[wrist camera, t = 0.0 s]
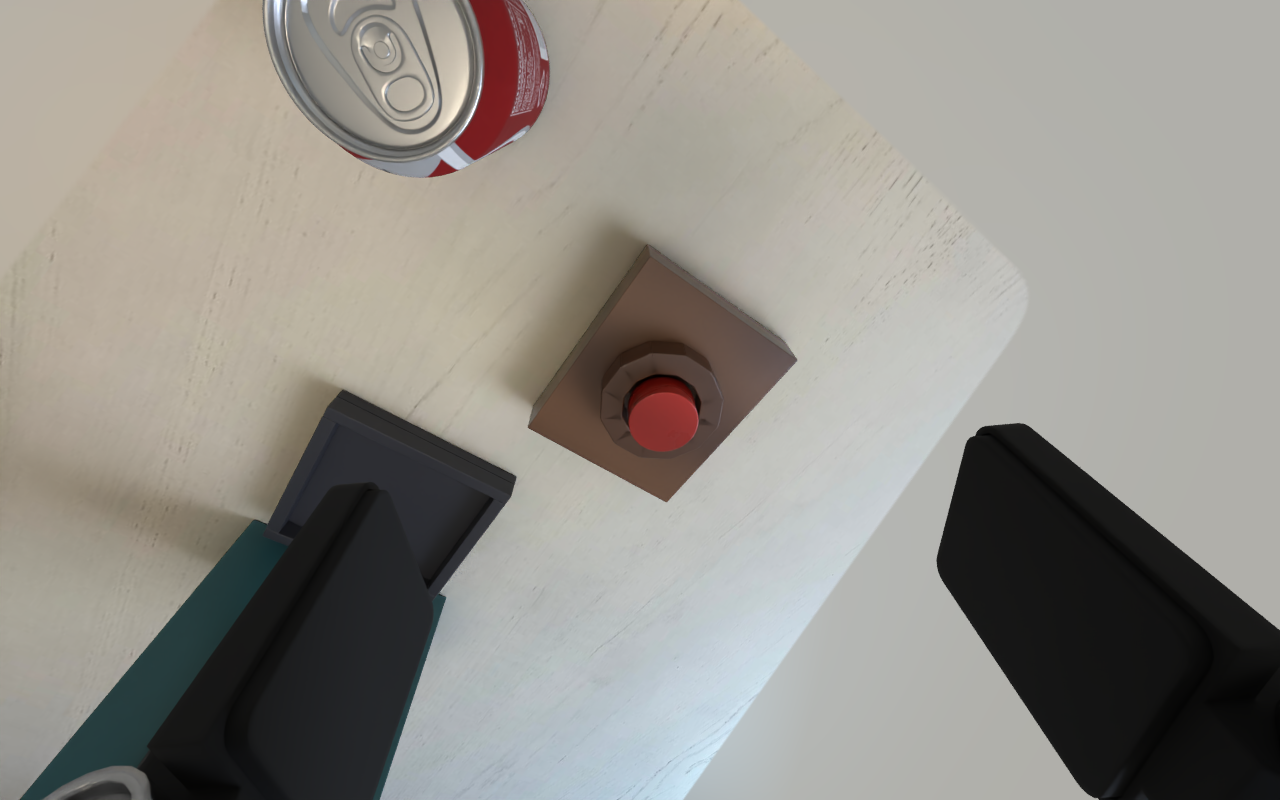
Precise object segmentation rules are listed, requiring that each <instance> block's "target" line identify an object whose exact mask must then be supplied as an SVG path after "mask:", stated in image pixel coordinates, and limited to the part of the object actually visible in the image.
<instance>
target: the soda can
mask: <svg viewBox="0 0 1280 800" xmlns="http://www.w3.org/2000/svg"><path fill="white" fill-rule="evenodd" d="M262 10H263V25H264V32H265V37H266V42H267V46H268V50H269V53H270V56H271V59H272V62H273V64H274V67H275V69H276V72H277V74H278V76H279V78H280V80H281V82H282V84H283V86H284V87H285V89H286V91H287V93H288V94H289V96H290V97H291V99H292V100H293V101H294V103H295V104H296V106H297V107H298V108H299V109H300V111H301V112H302V113H303V114H304V115H305V116H306V118H307V119H308V120H309V121H310V122H311V123H312V124H313V125H314V126H315V127H316V128H317V129H319V130H320V131H321V132H322V133H323V134H325V135H326V136H327V137H328V138H330V139H331V140H333V141H334V142H336V143H337V144H338V145H339V146H341V147H342V148H343V149H344V150H346V151H347V152H348V153H350V154H351V155H353V156H354V157H356V158H358V159H359V160H361V161H363V162H365V163H366V164H369V165H371V166H373V167H375V168H377V169H380V170H383V171H386V172H389V173H392V174H396V175H401V176H407V177H418V178H423V177H436V176H442V175H446V174H449V173H453V172H455V171H458V170H460V169H462V168H464V167H466V166H468V165H470V164H472V163H474V162H476V161H478V160H480V159H481V158H483V157H485V156H487V155H489V154H491V153H493V152H495V151H497V150H499V149H501V148H502V147H504V146H506V145H508V144H510V143H512V142H514V141H516V140H517V139H519V138H520V137H521V136H523V135H524V134H525V133H526V132H527V131H528V130H529V129H530V128H531V127H532V125H533V124H534V123H535V122H536V120H537V118H538V117H539V115H540V113H541V111H542V109H543V106H544V104H545V101H546V97H547V93H548V88H549V79H550V65H549V57H548V51H547V47H546V43H545V40H544V37H543V34H542V31H541V29H540V27H539V25H538V23H537V21H536V19H535V17H534V15H533V14H532V12H531V11H530V9H529V8H528V6H527V5H526V4H525V3H524V1H523V0H263V8H262Z"/></svg>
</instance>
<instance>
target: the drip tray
mask: <svg viewBox="0 0 1280 800" xmlns="http://www.w3.org/2000/svg"><path fill="white" fill-rule="evenodd" d="M515 480H516V476H514V475H512V474H510V473H508V472H506V471H504V470H502V469H500V468H498V467H496V466H494V465H492V464H490V463H488V462H486V461H484V460H482V459H480V458H478V457H476V456H474V455H472V454H470V453H468V452H466V451H464V450H462V449H460V448H458V447H456V446H454V445H452V444H450V443H448V442H446V441H444V440H442V439H440V438H438V437H436V436H434V435H432V434H430V433H428V432H426V431H424V430H422V429H420V428H418V427H416V426H414V425H412V424H410V423H408V422H406V421H404V420H402V419H400V418H398V417H396V416H394V415H392V414H390V413H388V412H386V411H384V410H382V409H380V408H378V407H376V406H374V405H372V404H370V403H368V402H366V401H364V400H362V399H360V398H358V397H356V396H354V395H352V394H350V393H348V392H346V391H344V390H342V391H341V392H340V393H339V394H338V396H337V397H336V398H335V399H334V400H333V401H332V402H331V403H330V405H329V406H328V407H327V409H326V411H325V413H324V415H323V417H322V418H321V420H320V422H319V424H318V426H317V428H316V430H315V432H314V434H313V436H312V438H311V440H310V442H309V444H308V446H307V448H306V450H305V452H304V454H303V456H302V458H301V460H300V462H299V464H298V466H297V468H296V470H295V472H294V474H293V476H292V478H291V480H290V482H289V484H288V485H287V487H286V489H285V491H284V493H283V495H282V497H281V499H280V501H279V503H278V505H277V507H276V509H275V511H274V513H273V515H272V517H271V519H270V521H269V523H268V525H267V527H266V529H265V531H264V533H263V535H262V536H263V537H266V538H268V539H271V540H274V541H276V542H279V543H281V544H284V545H286V546H289V545H290V544H291V542H292V541H293V539H294V538H295V537H296V535H297V534H298V532H299V531H300V530H301V528H302V527H303V525H304V524H305V523H306V521H307V520H308V518H309V517H310V516H311V514H312V513H313V511H314V510H315V508H316V507H317V506H318V504H319V503H320V501H321V500H322V499H323V497H324V496H325V494H326V493H327V492H328V490H329V489H330V488H331V487H332V486H335V485H340V484H351V483H362V482H373V483H375V484H376V485H377V486H378V487H379V489H380V490H387V491H388V492H389V494H390V496H391V498H392V500H393V503H394V505H395V508H396V511H397V513H398V516H399V518H400V521H401V523H402V526H403V528H404V531H405V534H406V536H407V539H408V541H409V544H410V546H411V549H412V551H413V554H414V557H415V559H416V562H417V564H418V567H419V569H420V572H421V575H422V577H423V580H424V582H425V585H426V587H427V590H428V592H429V595H430V598H431V600H432V601H433V600H434V599H435V597H436V596H437V595H438V593H439V592H440V591H441V589H442V588H443V587H444V585H445V584H446V583H447V581H448V580H449V579H450V577H451V576H452V575H453V573H454V572H455V571H456V569H457V568H458V567H459V565H460V564H461V563H462V561H463V560H464V559H465V557H466V556H467V555H468V553H469V552H470V551H471V549H472V548H473V547H474V545H475V544H476V543H477V541H478V540H479V539H480V537H481V536H482V535H483V533H484V532H485V531H486V529H487V528H488V527H489V525H490V524H491V523H492V521H493V520H494V519H495V517H496V516H497V515H498V513H499V512H500V511H501V509H502V508H503V507H504V505H505V504H506V503H507V501H508V500H509V499H510V497H511V496H512V492H513V488H514V484H515Z"/></svg>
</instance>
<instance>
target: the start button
mask: <svg viewBox="0 0 1280 800" xmlns="http://www.w3.org/2000/svg"><path fill="white" fill-rule="evenodd" d="M628 422H629V430H630V433H631V435H632V437H633V438H634V439H635V440H636V442H637V443H639V444H640V445H641V446H643V447H645V448H647V449H649V450H653V451H659V452H665V451H671V450H675V449H678V448H680V447H682V446H683V445H685V444H686V443H688V442H689V441H690V440H691V439H692V437H693V436H694V434H695V433H696V430H697V427H698V422H699V419H698V413H697V409H696V405H695V401H694V397H693V395H692V393H691V391H690V389H689V388H688V387H687V386H686V385H685V384H684V383H682V382H681V381H679V380H677V379H674V378H670V377H655V378H651V379H648V380H646V381H644V382H642V383H641V384H640V385H638V386H637V387H636V388H635V389H634V391H633V392H632V394H631V396H630V398H629V401H628Z"/></svg>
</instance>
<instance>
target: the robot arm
mask: <svg viewBox="0 0 1280 800" xmlns="http://www.w3.org/2000/svg"><path fill="white" fill-rule="evenodd" d="M937 568H938V572H939V574H940V577H941V579H942V581H943V582H944V584H945V585H946V587H947V588H948V590H949V591H950V593H951V594H952V596H953V597H954V599H955V600H956V602H957V603H958V605H959V606H960V608H961V609H962V611H963V612H964V614H965V615H966V617H967V618H968V620H969V621H970V623H971V624H972V626H973V627H974V629H975V630H976V632H977V633H978V635H979V636H980V638H981V639H982V641H983V642H984V644H985V645H986V647H987V648H988V650H989V651H990V653H991V654H992V656H993V657H994V659H995V660H996V662H997V663H998V665H999V666H1000V668H1001V669H1002V671H1003V672H1004V674H1005V675H1006V677H1007V678H1008V680H1009V681H1010V683H1011V684H1012V686H1013V687H1014V689H1015V690H1016V692H1017V693H1018V695H1019V696H1020V698H1021V699H1022V701H1023V702H1024V704H1025V705H1026V707H1027V708H1028V710H1029V711H1030V713H1031V714H1032V716H1033V717H1034V719H1035V720H1036V722H1037V723H1038V725H1039V726H1040V728H1041V729H1042V731H1043V732H1044V734H1045V735H1046V737H1047V738H1048V740H1049V741H1050V743H1051V744H1052V746H1053V747H1054V749H1055V750H1056V752H1057V753H1058V755H1059V756H1060V758H1061V759H1062V761H1063V762H1064V764H1065V765H1066V767H1067V768H1068V770H1069V771H1070V773H1071V774H1072V776H1073V777H1074V779H1075V780H1076V782H1077V783H1078V784H1079V785H1080V787H1081V788H1082V789H1083V790H1084V791H1085V792H1086V793H1087V794H1089V795H1090V796H1092V797H1094V798H1098V799H1099V800H1280V630H1279V629H1277V628H1276V627H1275V626H1274V625H1272V624H1271V623H1270V622H1268V620H1266V619H1265V618H1264V617H1263V616H1261V615H1260V614H1259V613H1258V612H1256V611H1255V610H1254V609H1253V608H1252V607H1250V606H1249V605H1248V604H1247V603H1245V602H1244V601H1243V600H1242V599H1241V598H1239V597H1238V596H1237V595H1236V594H1234V593H1233V592H1232V591H1231V590H1229V589H1228V588H1227V587H1226V586H1225V585H1223V584H1222V583H1221V582H1220V581H1218V580H1217V579H1216V578H1215V577H1214V576H1212V575H1211V574H1210V573H1208V572H1207V571H1206V570H1205V569H1203V568H1202V567H1201V566H1200V565H1199V564H1198V563H1196V562H1195V561H1194V560H1193V559H1191V558H1190V557H1189V556H1188V555H1187V554H1185V553H1184V552H1183V551H1182V550H1180V549H1179V548H1178V547H1177V546H1175V545H1174V544H1173V543H1172V542H1170V541H1169V540H1168V539H1167V538H1166V537H1164V536H1163V535H1162V534H1161V533H1159V532H1158V531H1157V530H1156V529H1155V528H1153V527H1152V526H1151V525H1150V524H1148V523H1147V522H1146V521H1145V520H1144V519H1142V518H1141V517H1140V516H1139V515H1137V514H1136V513H1135V512H1134V511H1132V510H1131V509H1130V508H1129V507H1128V506H1126V505H1125V504H1124V503H1123V502H1121V501H1120V500H1119V499H1118V498H1117V497H1115V496H1114V495H1113V494H1112V493H1110V492H1109V491H1108V490H1106V489H1105V488H1104V487H1103V486H1102V485H1101V484H1099V483H1098V482H1097V481H1096V480H1094V479H1093V478H1092V477H1091V476H1089V475H1088V474H1087V473H1086V472H1085V471H1083V470H1082V469H1081V468H1080V467H1078V466H1077V465H1076V464H1075V463H1073V462H1072V461H1071V460H1070V459H1069V458H1067V457H1066V456H1065V455H1064V454H1062V453H1061V452H1060V451H1059V450H1058V449H1056V448H1055V447H1054V446H1053V445H1051V444H1050V443H1049V442H1048V441H1046V440H1045V439H1044V438H1042V436H1040V435H1039V434H1038V433H1037V432H1035V431H1034V430H1033V429H1032V428H1030V427H1029V426H1027V425H1025V424H1020V423H1016V424H1005V425H993V426H985V427H982V428H980V429H979V430H978V431H977V433H976V435H975V436H973V437H970V438H969V440H968V441H967V443H966V446H965V449H964V453H963V457H962V461H961V465H960V469H959V473H958V477H957V481H956V485H955V489H954V492H953V496H952V500H951V504H950V508H949V512H948V516H947V520H946V523H945V527H944V531H943V536H942V539H941V543H940V547H939V551H938V555H937ZM433 616H434V610H433V603H432V600H431V598H430V595H429V592H428V590H427V587H426V585H425V582H424V580H423V577H422V575H421V572H420V569H419V567H418V564H417V562H416V559H415V557H414V554H413V551H412V549H411V546H410V544H409V541H408V539H407V536H406V534H405V531H404V528H403V526H402V523H401V521H400V518H399V516H398V513H397V511H396V508H395V505H394V503H393V500H392V498H391V496H390V494H389V492H388V491H387V490H380V489H379V487H378V486H377V485H376V484H375V483H373V482H362V483H351V484H340V485H335V486H332V487H331V488H330V489H329V490H328V492H327V493H326V494H325V496H324V497H323V499H322V500H321V501H320V503H319V504H318V506H317V507H316V508H315V510H314V511H313V513H312V514H311V516H310V517H309V518H308V520H307V521H306V523H305V524H304V525H303V527H302V528H301V530H300V531H299V532H298V534H297V535H296V537H295V538H294V539H293V541H292V542H291V544H290V545H289V546H288V548H287V549H286V551H285V552H284V553H283V555H282V556H281V558H280V559H279V561H278V562H277V563H276V565H275V566H274V568H273V569H272V570H271V572H270V573H269V575H268V576H267V577H266V579H265V580H264V582H263V583H262V584H261V586H260V587H259V589H258V590H257V591H256V593H255V594H254V596H253V597H252V598H251V600H250V601H249V603H248V604H247V605H246V607H245V608H244V610H243V611H242V613H241V614H240V615H239V617H238V618H237V620H236V621H235V622H234V624H233V625H232V627H231V628H230V629H229V631H228V632H227V634H226V635H225V636H224V638H223V639H222V641H221V642H220V643H219V645H218V646H217V648H216V649H215V650H214V652H213V653H212V655H211V656H210V657H209V659H208V660H207V662H206V663H205V665H204V666H203V667H202V669H201V670H200V672H199V673H198V674H197V676H196V677H195V679H194V680H193V681H192V683H191V684H190V686H189V687H188V688H187V690H186V691H185V693H184V694H183V695H182V697H181V698H180V700H179V701H178V702H177V704H176V705H175V707H174V708H173V709H172V711H171V712H170V714H169V715H168V717H167V718H166V719H165V721H164V722H163V724H162V725H161V726H160V728H159V729H158V731H157V732H156V733H155V735H154V736H153V738H152V739H151V740H150V742H149V743H148V745H147V747H148V749H149V750H150V751H151V752H150V753H149V755H148V756H147V758H146V759H145V760H144V762H143V763H142V765H141V766H140V768H139V769H136V768H134V767H133V766H110V767H107V768H103V769H100V770H96V771H93V772H89V773H87V774H85V775H83V776H81V777H79V778H77V779H75V780H73V781H71V782H69V783H67V784H65V785H63V786H61V787H60V788H58V789H57V790H55V791H54V792H52V793H51V794H49V795H48V796H47V797H45V798H44V799H42V800H373V798H374V795H375V792H376V789H377V786H378V783H379V780H380V777H381V774H382V771H383V768H384V765H385V762H386V759H387V756H388V754H389V751H390V748H391V745H392V742H393V739H394V736H395V733H396V730H397V727H398V724H399V721H400V718H401V715H402V712H403V709H404V706H405V703H406V700H407V698H408V695H409V692H410V689H411V686H412V683H413V680H414V677H415V674H416V671H417V668H418V665H419V662H420V659H421V656H422V653H423V650H424V647H425V645H426V642H427V639H428V636H429V633H430V630H431V627H432V623H433Z"/></svg>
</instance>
